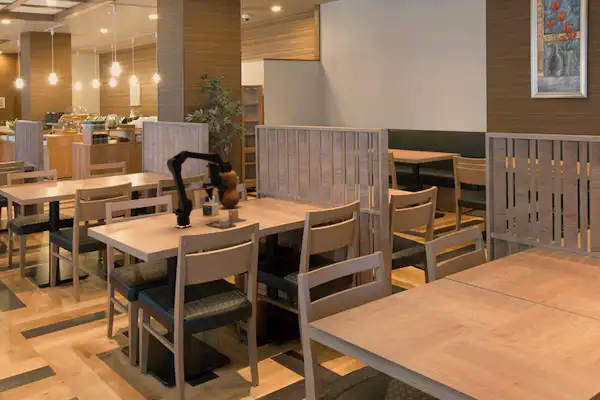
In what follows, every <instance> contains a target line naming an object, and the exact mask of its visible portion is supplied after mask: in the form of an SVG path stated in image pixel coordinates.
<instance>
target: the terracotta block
mask: <svg viewBox="0 0 600 400" xmlns="http://www.w3.org/2000/svg"><path fill="white" fill-rule="evenodd" d="M227 211H228V219H229V220H230V221H236V220H239V209H236V208H233V209H232V208H231V209H228V210H227Z"/></svg>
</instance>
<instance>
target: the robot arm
mask: <svg viewBox="0 0 600 400" xmlns="http://www.w3.org/2000/svg"><path fill="white" fill-rule="evenodd" d="M187 159H196V160H202V161H205V162H208V164H206V165H205V168H209V176H208V179H209V182H203V183H202V187H201V188H202V189H203V190H204V191H205V193H206V194H207V196H209V198H210V200H212V199H213V196H214V194H213V192H214V189H217V191H216V192H217V195H218V200H219V199H220V201H219V202H222V200H223V196H224V193H225V192H226V191H227V190H228V189H229V185H228V180H226V179H222V176H220V173H230V172H231V171H233V167H232V164H231V163H230V162H231V161H229V160H227V161H223V160H222V158H221V156H220V153H216V152H206V153H205V152H204V153H202V152H196V151H188V150H181V151H180V152H178V153H177V154H175V155H174V156H172V157H171V158H168V159H167V161H166V166H167V168H168V171H169V172H170V174H171V175H172V178H173V181H174V184H175V185H174V186H175V189H176V194H177V197H178V201H177V207H178V208H176V210H175V211H174V214H175V216H176V226H177V225H179V226H186V225H189V224H190V225H191V219H190V217H191V213H192V211H193V207H194V205H193V201H192V199H190V198H189V197H188V195H187V192H186V187H185V184H184V180H183V175H182V169H183V167H182V166H183V164H184V163H185V162H186V160H187Z"/></svg>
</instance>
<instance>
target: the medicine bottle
mask: <svg viewBox="0 0 600 400" xmlns="http://www.w3.org/2000/svg"><path fill="white" fill-rule="evenodd" d="M201 207H202V208H201V209H202V216H203V215H204V217H215V216H217V215H219V214H220V213H219V211H220V210H219V203H218V202H216V197H215V196H214V195H213V199H212V200H210V198H209V196H208V195H207V196H205V197H204V204H202V206H201Z"/></svg>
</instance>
